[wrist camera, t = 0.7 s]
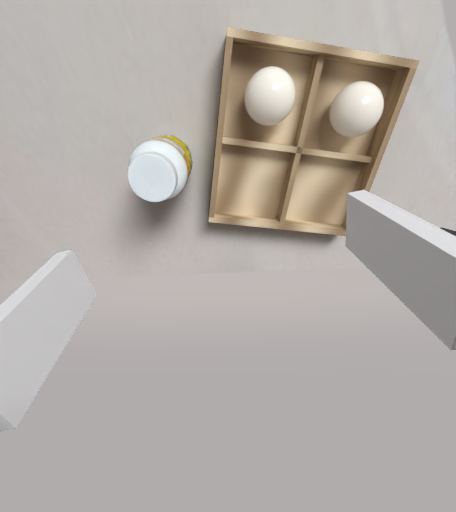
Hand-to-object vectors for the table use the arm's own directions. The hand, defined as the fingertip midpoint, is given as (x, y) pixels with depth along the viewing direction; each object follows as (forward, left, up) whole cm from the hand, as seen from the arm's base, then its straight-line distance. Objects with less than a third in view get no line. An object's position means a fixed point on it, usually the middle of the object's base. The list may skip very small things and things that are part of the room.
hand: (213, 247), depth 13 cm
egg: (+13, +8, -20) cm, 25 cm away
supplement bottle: (-5, 0, -21) cm, 21 cm away
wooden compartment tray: (+9, +3, -21) cm, 23 cm away
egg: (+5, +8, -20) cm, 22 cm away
